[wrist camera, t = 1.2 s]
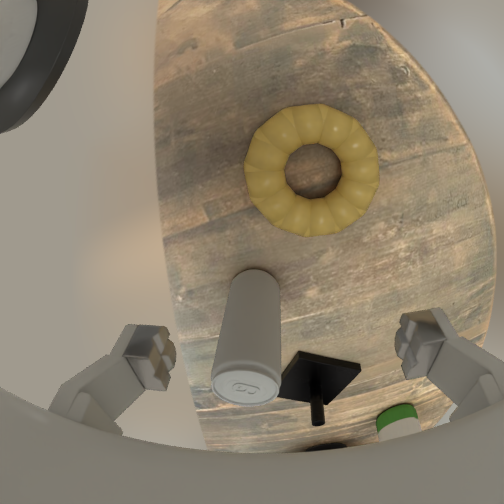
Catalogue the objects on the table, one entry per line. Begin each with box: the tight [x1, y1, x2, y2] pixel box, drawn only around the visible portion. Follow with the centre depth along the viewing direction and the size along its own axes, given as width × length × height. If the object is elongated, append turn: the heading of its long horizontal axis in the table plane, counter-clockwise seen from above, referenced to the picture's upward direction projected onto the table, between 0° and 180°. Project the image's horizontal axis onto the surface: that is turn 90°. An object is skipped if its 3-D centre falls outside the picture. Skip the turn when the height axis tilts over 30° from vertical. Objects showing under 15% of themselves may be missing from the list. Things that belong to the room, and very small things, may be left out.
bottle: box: [376, 404, 422, 442], centre depth 26 cm, size 8×8×30 cm
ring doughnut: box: [243, 104, 380, 237], centre depth 20 cm, size 10×10×3 cm
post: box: [277, 351, 361, 426], centre depth 31 cm, size 9×9×7 cm
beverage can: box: [211, 270, 281, 407], centre depth 22 cm, size 5×5×12 cm
